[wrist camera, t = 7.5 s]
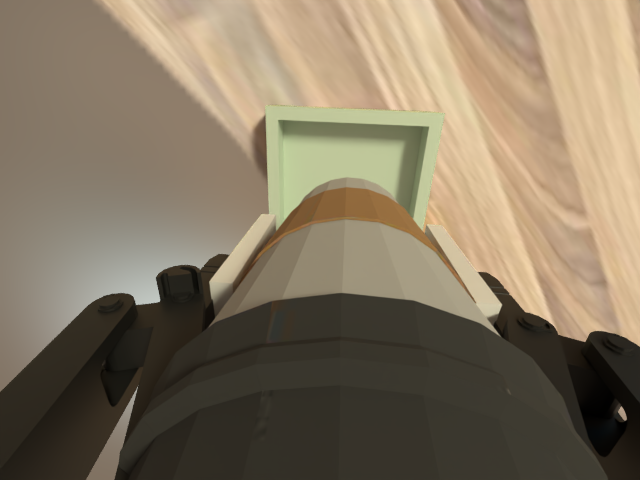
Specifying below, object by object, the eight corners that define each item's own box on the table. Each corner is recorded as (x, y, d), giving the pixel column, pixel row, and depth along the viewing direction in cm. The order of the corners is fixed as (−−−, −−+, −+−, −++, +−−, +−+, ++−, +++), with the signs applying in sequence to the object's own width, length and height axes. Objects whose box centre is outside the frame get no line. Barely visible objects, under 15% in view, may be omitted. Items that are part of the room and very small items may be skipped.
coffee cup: (417, 290, 19) (586, 754, 6) (284, 290, 20) (150, 695, 6) (427, 152, 16) (922, 469, 2) (268, 159, 17) (-89, 424, 3)
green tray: (273, 105, 27) (265, 105, 25) (434, 111, 26) (445, 113, 24) (277, 294, 36) (272, 310, 33) (400, 304, 35) (405, 321, 32)
